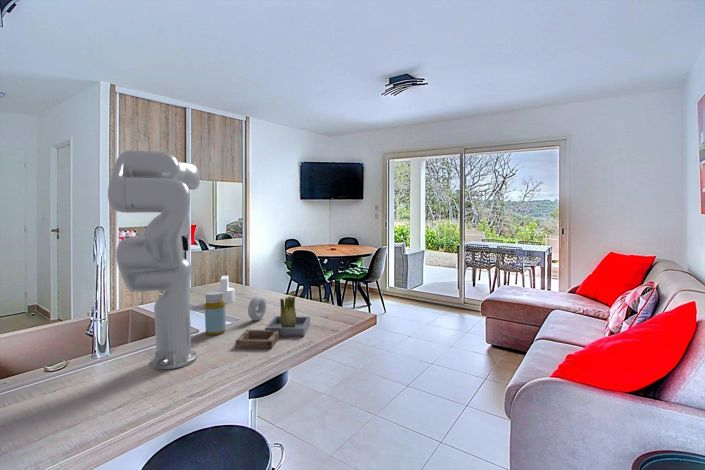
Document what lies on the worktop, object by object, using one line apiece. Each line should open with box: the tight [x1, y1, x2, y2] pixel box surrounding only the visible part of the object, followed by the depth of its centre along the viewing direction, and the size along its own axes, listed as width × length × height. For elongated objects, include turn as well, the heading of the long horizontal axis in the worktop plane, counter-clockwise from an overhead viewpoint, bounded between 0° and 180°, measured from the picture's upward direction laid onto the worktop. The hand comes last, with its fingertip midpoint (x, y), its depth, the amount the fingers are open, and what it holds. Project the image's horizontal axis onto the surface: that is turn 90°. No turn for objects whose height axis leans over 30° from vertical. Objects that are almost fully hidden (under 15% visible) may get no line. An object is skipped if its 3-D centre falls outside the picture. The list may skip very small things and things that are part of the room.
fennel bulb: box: [279, 296, 297, 328], centre depth 138 cm, size 6×5×12 cm
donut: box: [247, 295, 267, 321], centre depth 150 cm, size 10×4×10 cm, turn 159°
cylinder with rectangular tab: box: [214, 275, 236, 304], centre depth 179 cm, size 9×9×12 cm
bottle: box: [204, 290, 227, 336], centre depth 135 cm, size 7×7×15 cm
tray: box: [264, 315, 311, 338], centre depth 138 cm, size 14×14×3 cm
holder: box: [235, 329, 281, 350], centre depth 126 cm, size 11×12×2 cm
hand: (176, 252), depth 131 cm, fingers open, 9 cm apart
